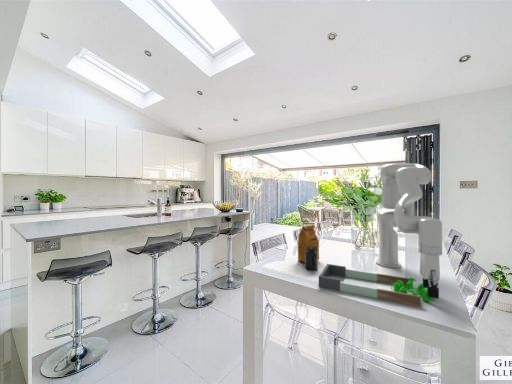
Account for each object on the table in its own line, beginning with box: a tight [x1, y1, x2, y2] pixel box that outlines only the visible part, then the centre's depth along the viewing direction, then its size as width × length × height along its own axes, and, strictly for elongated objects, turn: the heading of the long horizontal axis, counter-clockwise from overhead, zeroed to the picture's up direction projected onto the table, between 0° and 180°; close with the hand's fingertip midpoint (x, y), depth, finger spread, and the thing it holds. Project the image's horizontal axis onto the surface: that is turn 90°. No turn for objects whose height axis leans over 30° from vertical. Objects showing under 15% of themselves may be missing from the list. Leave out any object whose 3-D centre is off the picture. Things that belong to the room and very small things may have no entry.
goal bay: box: [339, 268, 378, 299], centre depth 101 cm, size 20×14×4 cm
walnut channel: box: [376, 272, 422, 308], centre depth 94 cm, size 20×14×4 cm
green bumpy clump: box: [390, 277, 434, 304], centre depth 91 cm, size 15×15×7 cm
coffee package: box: [297, 224, 320, 263], centre depth 137 cm, size 10×12×22 cm
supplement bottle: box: [304, 246, 319, 271], centre depth 123 cm, size 7×7×12 cm
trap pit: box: [318, 263, 347, 292], centre depth 106 cm, size 20×9×4 cm, turn 152°
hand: (430, 292), depth 88 cm, fingers open, 9 cm apart
